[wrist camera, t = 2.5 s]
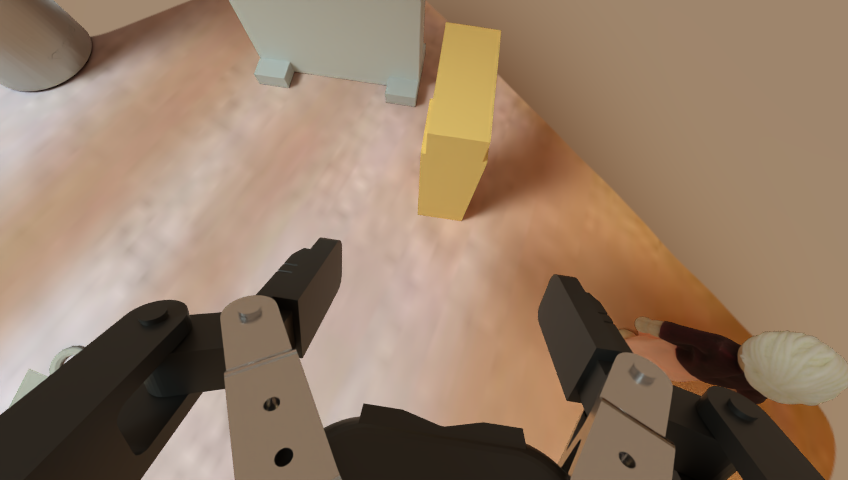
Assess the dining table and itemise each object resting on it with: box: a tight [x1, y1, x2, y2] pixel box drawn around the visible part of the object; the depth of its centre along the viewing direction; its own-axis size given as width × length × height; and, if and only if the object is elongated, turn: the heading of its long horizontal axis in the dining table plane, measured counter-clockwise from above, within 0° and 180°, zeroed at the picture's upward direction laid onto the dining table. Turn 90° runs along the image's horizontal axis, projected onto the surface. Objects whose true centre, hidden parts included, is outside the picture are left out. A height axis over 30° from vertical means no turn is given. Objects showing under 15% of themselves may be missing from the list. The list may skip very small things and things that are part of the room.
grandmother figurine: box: [619, 317, 848, 406], centre depth 19 cm, size 8×4×13 cm, turn 62°
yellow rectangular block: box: [418, 22, 501, 221], centre depth 23 cm, size 4×8×12 cm, turn 172°
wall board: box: [229, 0, 426, 107], centre depth 27 cm, size 16×7×12 cm, turn 82°
